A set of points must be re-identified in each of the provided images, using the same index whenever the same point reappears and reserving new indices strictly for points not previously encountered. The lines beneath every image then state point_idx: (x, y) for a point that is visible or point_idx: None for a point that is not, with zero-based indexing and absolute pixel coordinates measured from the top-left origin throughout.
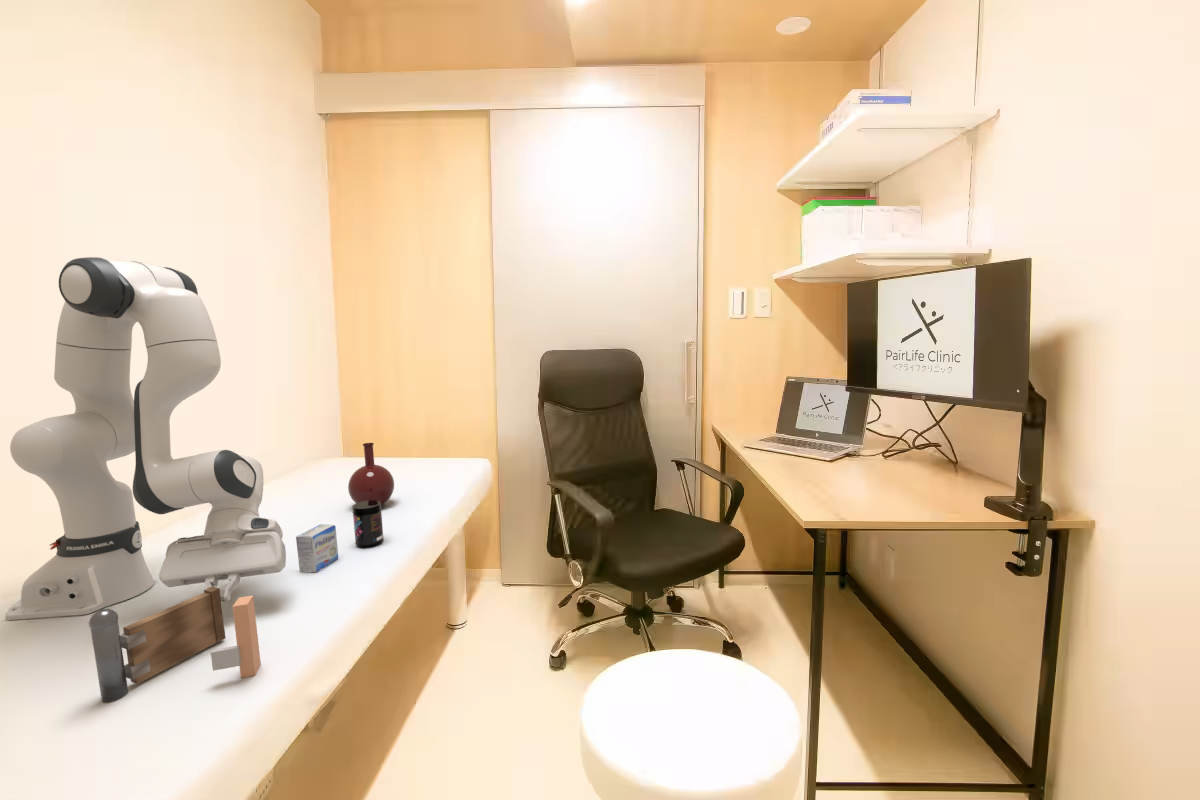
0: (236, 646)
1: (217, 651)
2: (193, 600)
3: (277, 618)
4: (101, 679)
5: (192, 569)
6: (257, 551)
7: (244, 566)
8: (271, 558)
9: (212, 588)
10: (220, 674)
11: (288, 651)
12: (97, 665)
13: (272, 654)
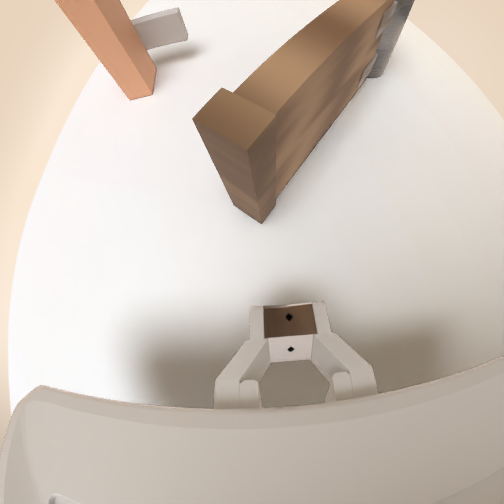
0: (133, 22)
1: (166, 10)
2: (283, 57)
3: (135, 305)
4: None
5: (461, 411)
6: (90, 494)
7: (158, 422)
8: (38, 420)
9: (231, 121)
10: (196, 79)
11: (89, 137)
12: None
13: (114, 129)
